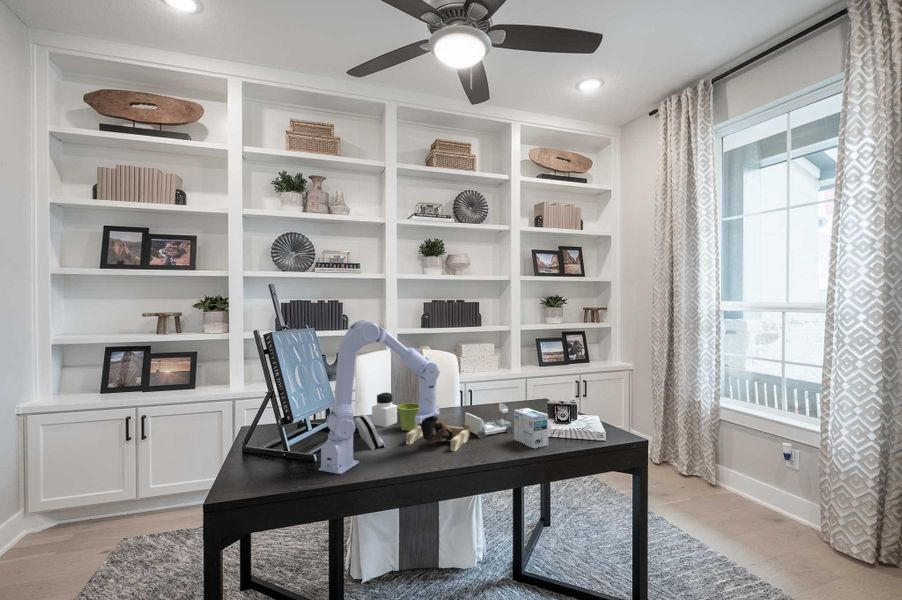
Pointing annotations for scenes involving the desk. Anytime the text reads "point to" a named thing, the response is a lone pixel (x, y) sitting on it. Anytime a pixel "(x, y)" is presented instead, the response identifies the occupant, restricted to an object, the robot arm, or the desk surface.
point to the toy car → (488, 423)
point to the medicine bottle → (384, 410)
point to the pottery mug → (441, 433)
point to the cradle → (458, 432)
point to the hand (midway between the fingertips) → (427, 439)
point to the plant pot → (408, 415)
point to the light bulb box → (531, 427)
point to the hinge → (368, 432)
